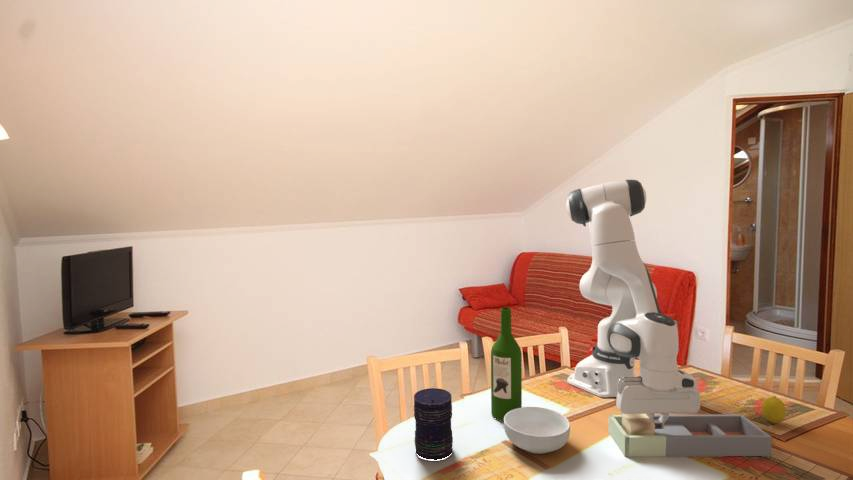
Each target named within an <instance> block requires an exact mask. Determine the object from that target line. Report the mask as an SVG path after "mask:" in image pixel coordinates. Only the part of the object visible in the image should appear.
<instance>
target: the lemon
mask: <svg viewBox="0 0 853 480" xmlns="http://www.w3.org/2000/svg"><path fill="white" fill-rule="evenodd" d="M761 414H762V416H763V417H764V418H765V419H766V421H768V422H770V424H772V423H773V425H775V424H776V423H780V422H783V421H784V420H785V418H786V415H787V408H786V406H785V403H784V402H783V400H781V399H780V398H778V397H777V396H776V395H775V396H774V395H771V396H768V397H766V398H764V400H763V401H762V403H761Z"/></svg>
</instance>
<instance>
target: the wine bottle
mask: <svg viewBox="0 0 853 480" xmlns="http://www.w3.org/2000/svg"><path fill="white" fill-rule="evenodd" d="M521 349H522V348H521V347H520V345H519V343H518V342H517V340H516V338H515V337H514V335H513V333H512V308H510V307H501V308H500V334H499V335H498V337H497V338H496V340H495V342H494V343H493V345H492V346H491V351H490V396H491V397H490V399H491V400H490V401H491V403H490V404H491V405H490V406H491V407H490V408H491V416H492V418H493V419H495V418H496V419H498V420H497V421H499V420H501V421H500V422H502V421H504V416H505V415H506V414H507V413H508V412H509V411H511V410H514V409H517V408H522V407H523V405H522V404H523V401H522V398H523V397H522V394H523V393H522V388H523V387H522V385H523V383H522V381H523V380H522V379H523V378H522V376H523V375H522V373H523V372H522V367H523V366H522V361H523V360H522V359H523V358H522V357H523V356H522V355H523V354H522V350H521ZM496 419H495V420H496Z"/></svg>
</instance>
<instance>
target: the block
mask: <svg viewBox="0 0 853 480" xmlns="http://www.w3.org/2000/svg"><path fill="white" fill-rule="evenodd" d="M621 415H622V428H623V430H624V431H625V432H626V434H627V435H655V424H654V423H653V422H652V421H651V420H650V419H649V418H648V416H647V415H646V414H623V413H621Z"/></svg>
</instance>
